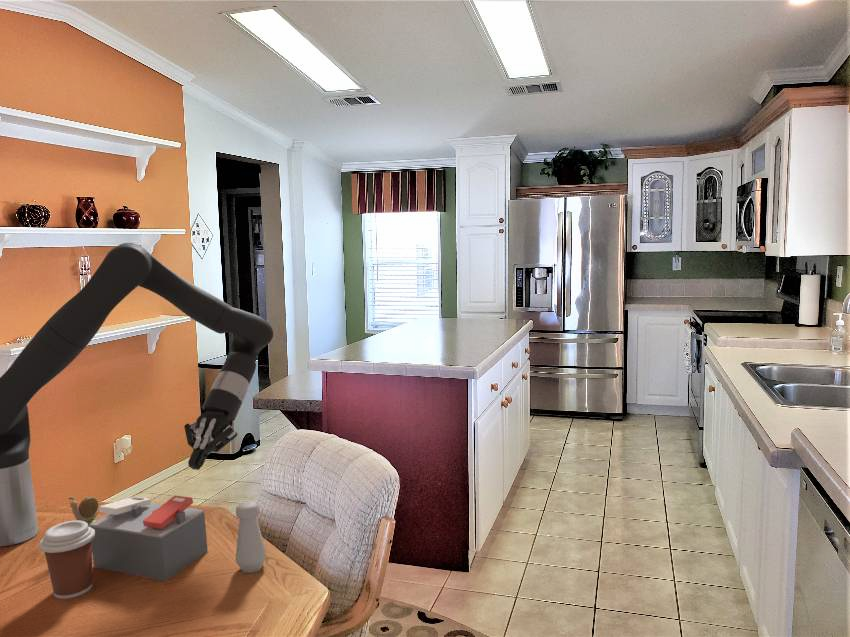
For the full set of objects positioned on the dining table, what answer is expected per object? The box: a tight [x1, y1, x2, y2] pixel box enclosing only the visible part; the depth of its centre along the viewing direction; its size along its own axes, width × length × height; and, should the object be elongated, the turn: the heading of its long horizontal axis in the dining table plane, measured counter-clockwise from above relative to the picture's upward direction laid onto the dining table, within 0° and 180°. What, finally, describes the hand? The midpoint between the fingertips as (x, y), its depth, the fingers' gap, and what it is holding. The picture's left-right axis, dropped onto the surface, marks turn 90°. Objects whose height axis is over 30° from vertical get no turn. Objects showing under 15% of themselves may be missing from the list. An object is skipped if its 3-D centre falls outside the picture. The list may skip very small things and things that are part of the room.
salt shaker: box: [235, 501, 267, 574], centre depth 126 cm, size 6×6×13 cm
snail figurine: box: [68, 496, 99, 527], centre depth 139 cm, size 5×6×12 cm
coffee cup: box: [38, 520, 95, 600], centre depth 121 cm, size 9×9×12 cm
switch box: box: [89, 502, 209, 582], centre depth 132 cm, size 18×12×11 cm, turn 69°
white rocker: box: [98, 496, 152, 515], centre depth 133 cm, size 4×9×1 cm, turn 159°
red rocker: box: [143, 495, 194, 529], centre depth 129 cm, size 4×9×1 cm, turn 159°
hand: (193, 467), depth 136 cm, fingers closed
